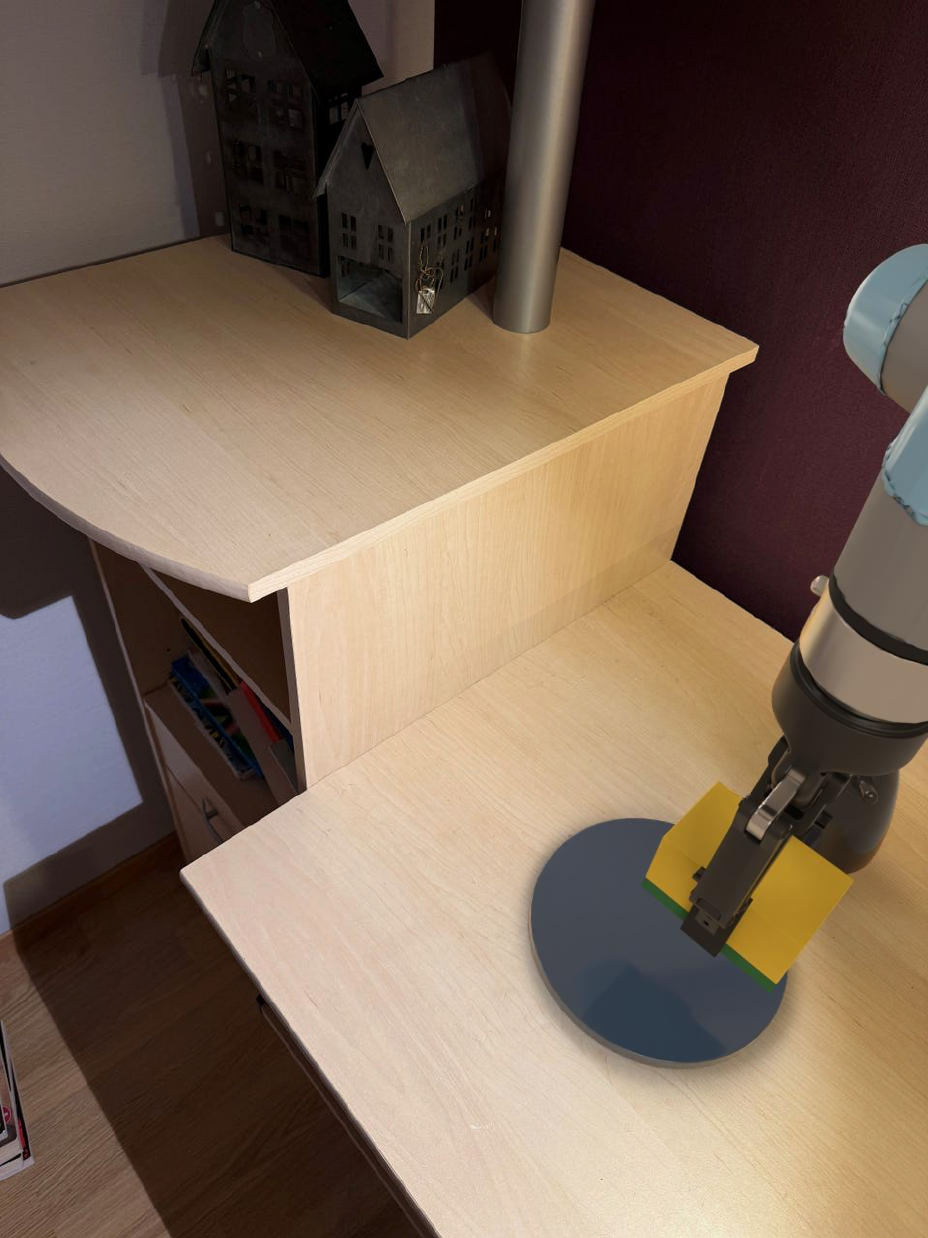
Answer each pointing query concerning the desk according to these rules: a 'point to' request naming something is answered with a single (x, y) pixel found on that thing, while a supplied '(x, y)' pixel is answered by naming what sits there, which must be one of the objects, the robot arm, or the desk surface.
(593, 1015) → the plate
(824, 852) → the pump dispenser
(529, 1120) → the desk surface
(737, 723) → the desk surface
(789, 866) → the sponge
